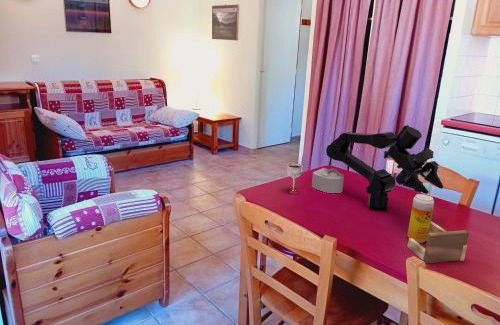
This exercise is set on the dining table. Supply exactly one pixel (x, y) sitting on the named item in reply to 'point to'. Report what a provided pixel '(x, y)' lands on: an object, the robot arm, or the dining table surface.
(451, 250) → the shelf
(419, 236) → the beer can
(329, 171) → the grey lumpy block
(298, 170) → the wineglass
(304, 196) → the dining table surface
